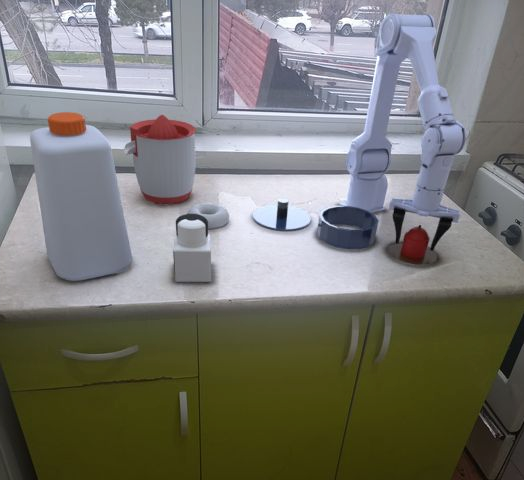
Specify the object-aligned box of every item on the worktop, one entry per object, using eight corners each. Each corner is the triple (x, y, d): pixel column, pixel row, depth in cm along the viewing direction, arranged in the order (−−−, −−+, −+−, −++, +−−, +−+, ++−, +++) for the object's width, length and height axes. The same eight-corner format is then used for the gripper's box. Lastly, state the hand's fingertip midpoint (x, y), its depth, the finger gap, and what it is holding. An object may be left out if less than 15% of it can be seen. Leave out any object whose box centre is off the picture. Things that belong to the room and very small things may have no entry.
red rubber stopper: (413, 245, 118) (420, 217, 114) (430, 255, 115) (438, 227, 111) (395, 249, 116) (402, 222, 112) (412, 260, 113) (420, 232, 108)
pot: (350, 221, 128) (353, 202, 125) (385, 244, 119) (390, 224, 116) (305, 231, 122) (308, 211, 119) (340, 256, 113) (343, 235, 110)
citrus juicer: (124, 188, 135) (114, 107, 122) (188, 183, 141) (185, 104, 128) (135, 213, 124) (126, 126, 111) (204, 206, 130) (203, 122, 117)
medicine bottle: (176, 264, 106) (173, 209, 99) (211, 264, 107) (210, 210, 99) (174, 282, 101) (171, 225, 93) (211, 282, 101) (210, 226, 94)
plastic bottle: (44, 252, 107) (11, 108, 89) (116, 239, 113) (98, 102, 95) (61, 287, 97) (26, 133, 79) (138, 271, 103) (123, 125, 85)
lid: (290, 204, 133) (291, 185, 130) (321, 227, 124) (324, 207, 121) (242, 213, 127) (242, 194, 124) (271, 238, 118) (273, 217, 115)
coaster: (412, 239, 122) (413, 237, 121) (447, 260, 115) (447, 258, 114) (377, 248, 117) (378, 246, 117) (411, 270, 110) (411, 268, 110)
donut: (181, 229, 119) (223, 234, 118) (180, 215, 117) (222, 220, 116) (194, 211, 127) (233, 216, 126) (193, 198, 125) (233, 203, 123)
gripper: (393, 185, 104) (379, 245, 113) (466, 199, 101) (446, 260, 110) (397, 174, 110) (384, 232, 118) (467, 187, 107) (448, 246, 115)
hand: (414, 245), depth 114 cm, fingers open, 7 cm apart
